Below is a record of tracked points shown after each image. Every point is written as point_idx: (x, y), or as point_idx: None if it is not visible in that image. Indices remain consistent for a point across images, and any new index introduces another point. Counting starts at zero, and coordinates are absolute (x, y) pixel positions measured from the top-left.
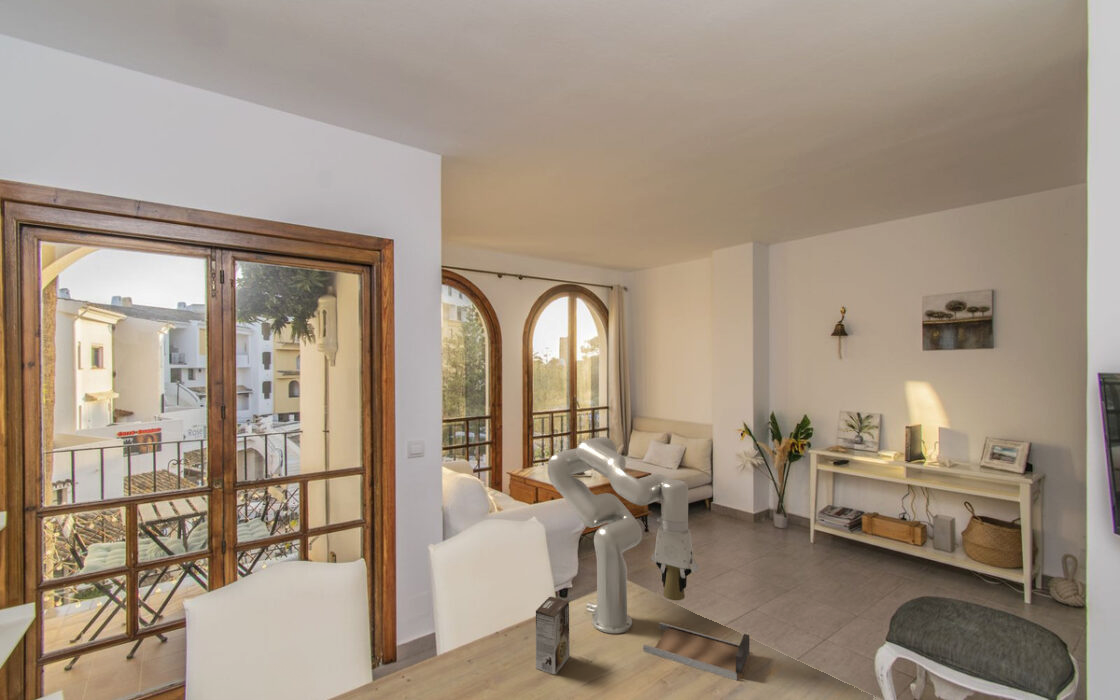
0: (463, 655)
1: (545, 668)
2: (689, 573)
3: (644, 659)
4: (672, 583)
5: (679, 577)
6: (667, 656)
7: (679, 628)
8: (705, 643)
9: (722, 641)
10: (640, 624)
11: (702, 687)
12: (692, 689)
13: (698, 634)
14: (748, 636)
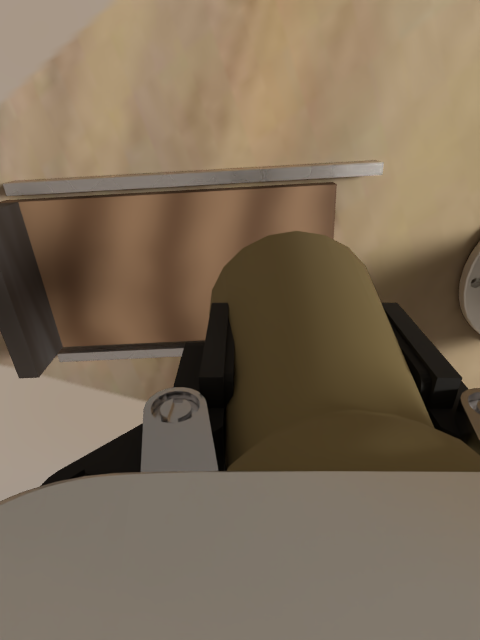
0: None
1: None
2: (75, 466)
3: (356, 105)
4: (301, 305)
5: (232, 391)
6: (275, 167)
7: None
8: (179, 312)
9: (134, 349)
10: (427, 320)
11: (89, 53)
12: (114, 10)
13: None
14: (17, 369)
